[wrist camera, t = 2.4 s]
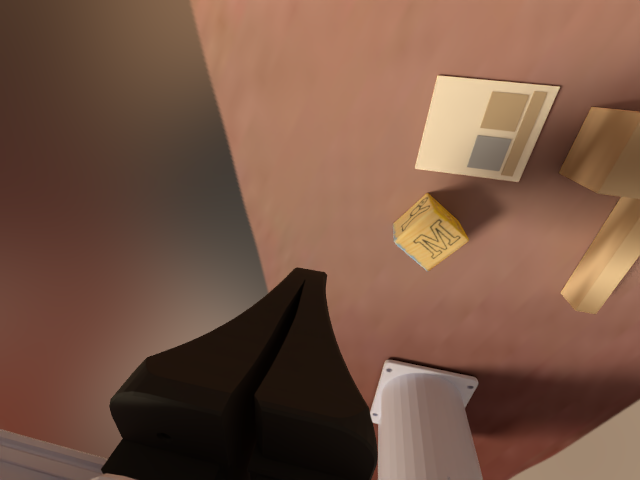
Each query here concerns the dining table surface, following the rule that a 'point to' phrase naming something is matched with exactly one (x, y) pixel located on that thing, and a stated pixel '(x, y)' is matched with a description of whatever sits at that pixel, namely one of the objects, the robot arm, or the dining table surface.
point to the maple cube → (607, 153)
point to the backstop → (606, 258)
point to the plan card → (483, 127)
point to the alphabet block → (428, 233)
